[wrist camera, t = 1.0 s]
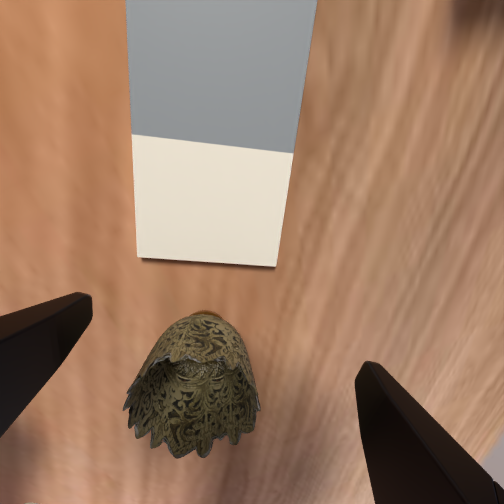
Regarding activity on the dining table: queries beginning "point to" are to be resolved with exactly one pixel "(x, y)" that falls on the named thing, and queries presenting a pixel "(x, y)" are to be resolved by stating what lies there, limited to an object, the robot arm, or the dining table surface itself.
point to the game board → (215, 123)
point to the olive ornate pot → (194, 387)
